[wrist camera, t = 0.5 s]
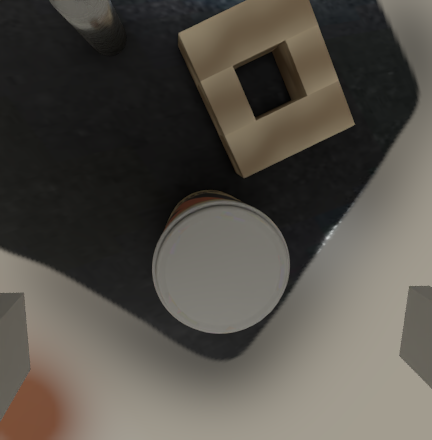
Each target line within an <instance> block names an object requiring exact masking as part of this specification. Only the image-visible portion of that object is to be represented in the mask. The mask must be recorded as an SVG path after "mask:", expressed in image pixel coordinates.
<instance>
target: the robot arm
mask: <svg viewBox="0 0 432 440" xmlns="http://www.w3.org/2000/svg"><path fill="white" fill-rule="evenodd" d="M399 356H400V357H401V358H402V359H403V360H404V361H405V362H406V363H407V364H408V365H409V366H410V367H411V368H412V369H413V370H414V371H415V372H416V373H417V374H418V375H419V376H420V377H421V378H422V379H423V380H424V381H425V382H426V383H427V384H428V385H429V386H430V387H431V388H432V287H430V286H409V292H408V299H407V306H406V312H405V321H404V326H403V334H402V341H401V348H400V355H399ZM29 371H30V359H29V348H28V336H27V324H26V312H25V300H24V293H0V421H1V419H2V417H3V416H4V414H5V412H6V410H7V409H8V407H9V405H10V403H11V402H12V400H13V399H14V397H15V395H16V393H17V392H18V390H19V388H20V386H21V385H22V383H23V381H24V380H25V378H26V376H27V374H28V372H29Z"/></svg>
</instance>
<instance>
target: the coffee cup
mask: <svg viewBox="0 0 432 440" xmlns="http://www.w3.org/2000/svg"><path fill="white" fill-rule="evenodd" d="M289 270H290V259H289V252H288V248H287V245H286V242H285V240H284V237H283V236H282V234H281V232H280V230H279V229H278V227H277V226H276V225H275V224H274V222H273V221H272V220H271V219H270V218H269V217H268V216H266V215H265V214H264V213H262V212H261V211H259V210H258V209H256V208H254V207H252V206H249V205H247V204H245V203H243V202H241V201H240V200H238V199H236V198H234V197H233V196H231V195H229V194H226V193H224V192H221V191H216V190H202V191H198V192H195V193H193V194H190V195H188V196H187V197H185V198H184V199H183V200H181V201H180V202H179V203H178V204H177V206H176V207H175V208H174V210H173V211H172V213H171V215H170V217H169V219H168V222H167V224H166V227H165V229H164V231H163V234H162V235H161V237H160V239H159V241H158V243H157V246H156V248H155V251H154V256H153V262H152V275H153V281H154V286H155V289H156V292H157V294H158V296H159V298H160V300H161V302H162V303H163V305H164V306H165V308H166V309H167V310H168V311H169V312H170V313H171V314H172V315H173V316H174V317H175V318H176V319H177V320H179V321H180V322H182V323H183V324H185V325H187V326H189V327H191V328H194V329H197V330H200V331H203V332H207V333H217V334H222V333H232V332H236V331H240V330H243V329H246V328H248V327H250V326H252V325H254V324H256V323H257V322H259V321H260V320H262V319H263V318H264V317H265V316H266V315H268V314H269V313H270V312H271V311H272V309H273V308H274V307H275V306H276V304H277V303H278V301H279V300H280V298H281V296H282V294H283V292H284V290H285V288H286V285H287V282H288V277H289Z"/></svg>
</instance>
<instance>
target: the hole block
mask: <svg viewBox="0 0 432 440" xmlns="http://www.w3.org/2000/svg"><path fill="white" fill-rule="evenodd" d="M178 47H179V49H180V51H181V54H182V56H183V58H184V60H185V62H186V64H187V67H188V69H189V71H190V73H191V75H192V78H193V80H194V82H195V84H196V86H197V89H198V91H199V93H200V95H201V97H202V100H203V102H204V104H205V106H206V108H207V110H208V113H209V115H210V117H211V119H212V121H213V124H214V126H215V128H216V130H217V132H218V135H219V137H220V139H221V141H222V143H223V146H224V148H225V150H226V152H227V154H228V157H229V159H230V161H231V163H232V165H233V167H234V170H235V172H236V173H237V174H238V175H240V176H241V177H243V178H246V177H248V176H250V175H252V174H254V173H256V172H258V171H260V170H262V169H264V168H266V167H269V166H271V165H273V164H275V163H277V162H279V161H281V160H283V159H285V158H287V157H289V156H291V155H293V154H295V153H298V152H300V151H302V150H304V149H306V148H308V147H310V146H312V145H314V144H316V143H318V142H320V141H322V140H324V139H326V138H329V137H331V136H333V135H335V134H337V133H339V132H341V131H343V130H345V129H347V128H349V127H351V126H353V125H355V124H354V121H353V118H352V115H351V113H350V110H349V107H348V105H347V102H346V99H345V96H344V94H343V91H342V88H341V86H340V83H339V80H338V78H337V75H336V72H335V69H334V67H333V64H332V61H331V59H330V56H329V53H328V50H327V48H326V45H325V42H324V40H323V37H322V34H321V31H320V29H319V26H318V23H317V21H316V18H315V15H314V12H313V10H312V7H311V4H310V2H309V0H246V1H244V2H242V3H240V4H238V5H236V6H234V7H232V8H230V9H227V10H225V11H223V12H221V13H219V14H217V15H215V16H213V17H211V18H209V19H207V20H205V21H203V22H201V23H199V24H197V25H194V26H192V27H190V28H188V29H186V30H184V31H182V32H180V33H178ZM270 52H272V53H273V56H274V58H275V61H276V63H277V66H278V68H279V71H280V73H281V76H282V78H283V80H284V83H285V85H286V88H287V90H288V93H289V95H290V98H291V101H288V102H286V103H284V104H282V105H280V106H278V107H276V108H274V109H272V110H270V111H268V112H266V113H264V114H262V115H260V116H257V117H254V115H253V112H252V110H251V108H250V105H249V103H248V101H247V98H246V96H245V94H244V91H243V89H242V87H241V84H240V82H239V80H238V77H237V75H236V73H235V70H234V69H237V68H239V67H241V66H243V65H245V64H247V63H249V62H251V61H253V60H255V59H257V58H259V57H261V56H263V55H265V54H268V53H270Z"/></svg>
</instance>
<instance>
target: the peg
mask: <svg viewBox="0 0 432 440" xmlns="http://www.w3.org/2000/svg"><path fill="white" fill-rule="evenodd" d="M49 1H50V2H51V4H52V5H53V6H54V7H55V8H56V9H57V10H58V11H59V12H60V13H61V15H62V16H63V17H64V18H65V19H66V20H67V21H68V22H69V23H70V24H71V25H72V26H73V27H74V28H75V29H76V30H77V31H78V32H79V33H80V34H81V35H82V36H83V37H84V38H85V39H86V40H87V41H88V42H89V43H90V45H91V46H92V47H93V48H94V49H95V50H96V51H97V52H99V53H100V54H102V55H106V56H113V55H116V54H118V53H119V52H121V51H122V49H123V48H124V46H125V44H126V32H125V30H124V28H123V26H122V23H121V21H120V19H119V17H118V15H117V13H116V11H115V9H114V7H113V5H112V3H111V1H110V0H49Z"/></svg>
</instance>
